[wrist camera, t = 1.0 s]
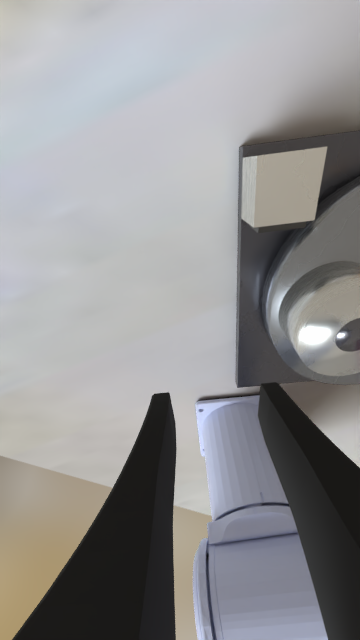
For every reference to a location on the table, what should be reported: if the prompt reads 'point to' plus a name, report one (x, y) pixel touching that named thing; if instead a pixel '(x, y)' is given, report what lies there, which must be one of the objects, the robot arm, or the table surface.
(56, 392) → the table surface
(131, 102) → the table surface
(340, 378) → the turntable
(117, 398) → the table surface
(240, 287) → the base plate
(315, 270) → the cover
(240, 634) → the robot arm
